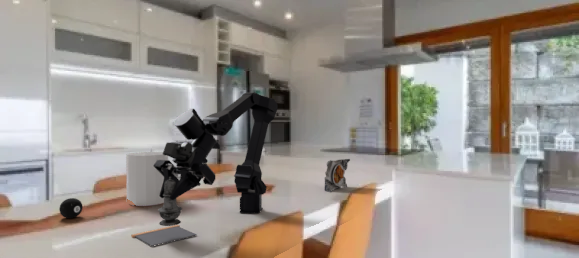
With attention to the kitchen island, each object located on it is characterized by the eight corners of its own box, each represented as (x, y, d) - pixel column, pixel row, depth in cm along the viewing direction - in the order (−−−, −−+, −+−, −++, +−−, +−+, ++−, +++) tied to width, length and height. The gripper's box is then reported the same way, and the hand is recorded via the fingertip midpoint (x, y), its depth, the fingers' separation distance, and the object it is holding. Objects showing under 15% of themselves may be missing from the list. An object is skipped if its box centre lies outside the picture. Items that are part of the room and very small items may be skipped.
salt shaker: (181, 225, 90) (181, 178, 90) (156, 226, 89) (156, 178, 88) (182, 218, 96) (182, 174, 95) (159, 220, 94) (159, 174, 94)
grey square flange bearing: (332, 192, 152) (333, 161, 152) (324, 191, 155) (324, 161, 155) (350, 187, 164) (350, 158, 164) (341, 186, 167) (342, 158, 166)
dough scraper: (131, 236, 94) (131, 234, 93) (177, 226, 103) (177, 224, 103) (149, 247, 86) (149, 245, 86) (198, 235, 95) (198, 233, 95)
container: (143, 208, 125) (142, 156, 124) (118, 203, 132) (118, 154, 132) (176, 200, 137) (176, 153, 136) (152, 196, 144) (151, 151, 144)
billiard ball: (74, 214, 115) (74, 195, 115) (86, 216, 113) (86, 197, 113) (55, 218, 110) (55, 199, 110) (67, 221, 107) (67, 201, 107)
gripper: (158, 130, 100) (122, 175, 91) (207, 132, 90) (171, 182, 81) (181, 156, 107) (150, 200, 98) (228, 160, 97) (198, 209, 88)
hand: (165, 198), depth 91 cm, fingers closed on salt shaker, 4 cm apart
